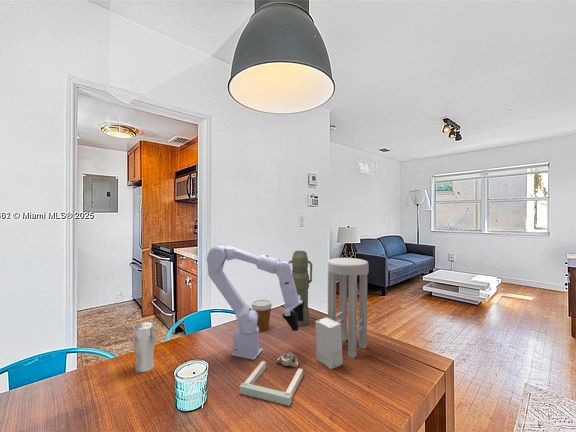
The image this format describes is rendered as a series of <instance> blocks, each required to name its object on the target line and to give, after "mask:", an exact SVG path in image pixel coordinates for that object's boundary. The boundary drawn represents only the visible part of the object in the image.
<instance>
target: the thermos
mask: <svg viewBox="0 0 576 432" xmlns="http://www.w3.org/2000/svg"><path fill="white" fill-rule="evenodd" d="M288 263H289V265H290V264H291V265H290V266H292V267H291V274H292V276H293V277H292V278H293V279H294V283H295V286H296V290H297V294H298V295H300V297H301V300H302V301H304V308H303V315H304V320H303V321H298V319H297V323H298V327H306V326H308V325H309V323H310V321H309V319H310V311H309V288H310V284H311V282H313V263H312V261H310V260H309V259H308V253H307V251H304V250H295V251H293V254H292V259H291V260H289V261H288ZM309 267H310V268H309ZM308 268H309V270H308ZM308 271H309V272H308ZM309 273H310V274H309ZM301 300H300V301H301ZM292 312H293V313H295V312H294V310H292Z"/></svg>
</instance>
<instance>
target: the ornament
mask: <svg viewBox="0 0 576 432" xmlns="http://www.w3.org/2000/svg"><path fill="white" fill-rule="evenodd" d="M276 363H278V364H281V365H283V366H290V367H292V368H297V367H298V365H299V359H298V358H297V355H296V354H294V353H293V352H290V351H289V352H288V353H287V352H282V351H280V354H279V355H278V357H277V359H276Z"/></svg>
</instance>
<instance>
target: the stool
mask: <svg viewBox="0 0 576 432" xmlns="http://www.w3.org/2000/svg"><path fill="white" fill-rule="evenodd" d="M369 268H370V267H369V262H368V260H365V259H362V258H355V257H354V258H353V257H336V258H335V257H334V258H331V259H328V263H327V318H329V319H331V320H333V321H336V322H338V323H341V336H342V342H344V343H345V342H346V341H347V345H348V347H347V356H348V357H349V358H351V359H355V358H356V357H357V333H359V334H358V348H361V349H364V350H365V349H366V348H367V347H368V346H367V345H368V342H367V341H368V274H369V270H370V269H369ZM337 275H339V301H338V302H339V312H338V313H336V311H337V309H336V308H337V305H336V304H337V301H336V300H337V293H336V292H337V291H336V290H337ZM358 276H359V285H358ZM358 287H359V289H358ZM358 290H359V296H358ZM358 297H359V299H357V298H358ZM357 300H358V301H359V302H358V301H357ZM358 303H359V306H358ZM357 306H358V307H359V309H358V310H359V311H357V308H358V307H357ZM358 312H359V313H358ZM357 313H358V315H359V317H358V315H357ZM357 317H358V318H357ZM337 319H338V320H337ZM357 325H358V326H357ZM347 326H348V327H347ZM347 329H348V331H347Z"/></svg>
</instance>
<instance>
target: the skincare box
mask: <svg viewBox="0 0 576 432" xmlns="http://www.w3.org/2000/svg"><path fill="white" fill-rule="evenodd" d="M342 342H343V341H342V336H341V323H338V322H337V320H336V321H333V320H331V319H329V318H328V316H326V317H323V318H320V319H318V320H315V343H316V344H315V345H316V347H315V348H316V360H317V361H318V362H319V363H321V364H323V365H324V366H325V367H327V368H328V369H330V370H332V369H334V368H338V367H341V366H342V365H343V362H344V361H343V343H342Z"/></svg>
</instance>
